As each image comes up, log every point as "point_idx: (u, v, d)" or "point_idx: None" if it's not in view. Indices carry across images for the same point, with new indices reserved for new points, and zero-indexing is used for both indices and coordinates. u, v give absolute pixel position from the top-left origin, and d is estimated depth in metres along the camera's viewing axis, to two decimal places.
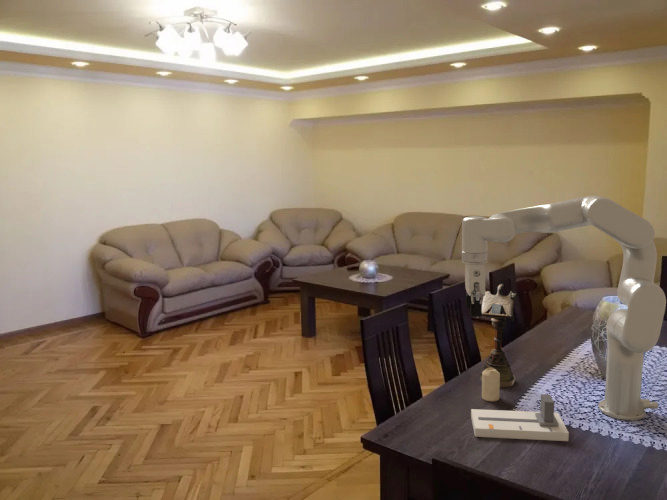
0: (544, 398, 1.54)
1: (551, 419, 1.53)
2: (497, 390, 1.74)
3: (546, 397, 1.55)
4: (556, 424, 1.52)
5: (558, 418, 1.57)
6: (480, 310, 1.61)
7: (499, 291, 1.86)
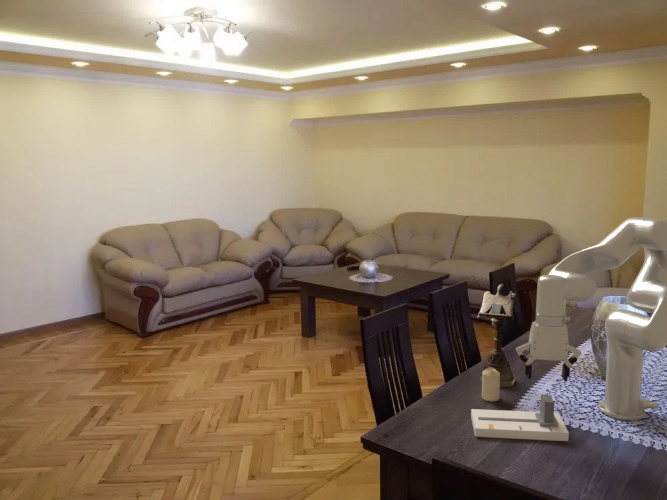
0: (544, 398, 1.54)
1: (551, 419, 1.53)
2: (497, 390, 1.74)
3: (546, 397, 1.55)
4: (556, 424, 1.52)
5: (558, 418, 1.57)
6: None
7: (499, 291, 1.86)
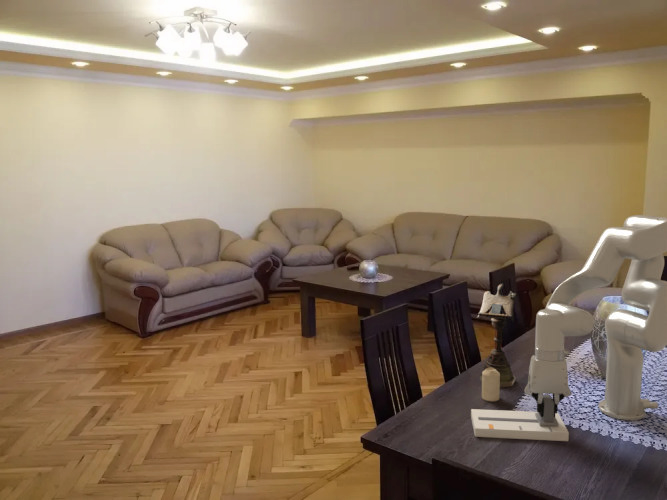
0: (544, 398, 1.54)
1: (551, 419, 1.53)
2: (497, 390, 1.74)
3: (546, 397, 1.55)
4: (556, 424, 1.52)
5: (558, 418, 1.57)
6: None
7: (499, 291, 1.86)
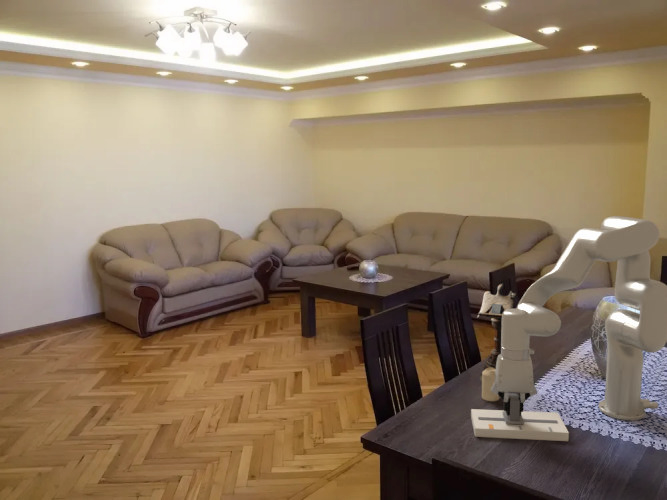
0: (510, 397, 1.56)
1: (517, 418, 1.54)
2: None
3: (512, 396, 1.56)
4: (522, 422, 1.53)
5: (558, 418, 1.57)
6: None
7: (499, 291, 1.86)
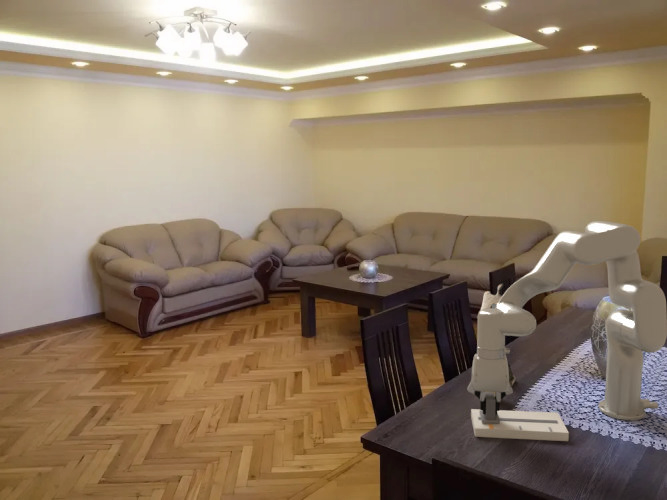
0: (486, 396, 1.57)
1: (493, 416, 1.55)
2: None
3: (488, 395, 1.57)
4: (497, 421, 1.54)
5: (558, 418, 1.57)
6: None
7: (499, 291, 1.86)
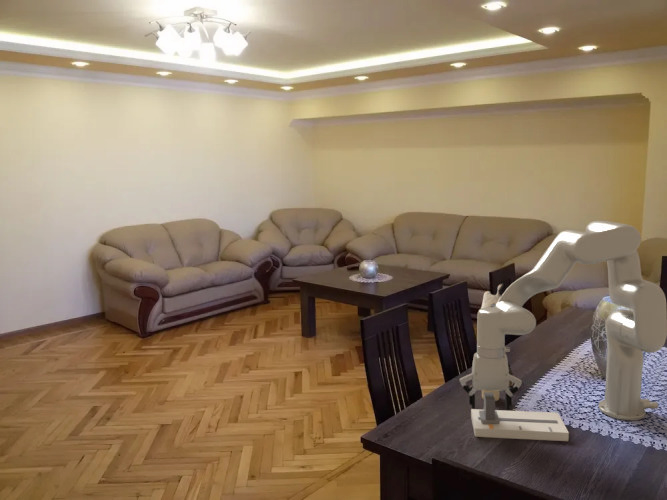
0: (486, 396, 1.57)
1: (492, 416, 1.55)
2: None
3: (488, 395, 1.57)
4: (497, 421, 1.55)
5: (558, 418, 1.57)
6: None
7: (499, 291, 1.86)
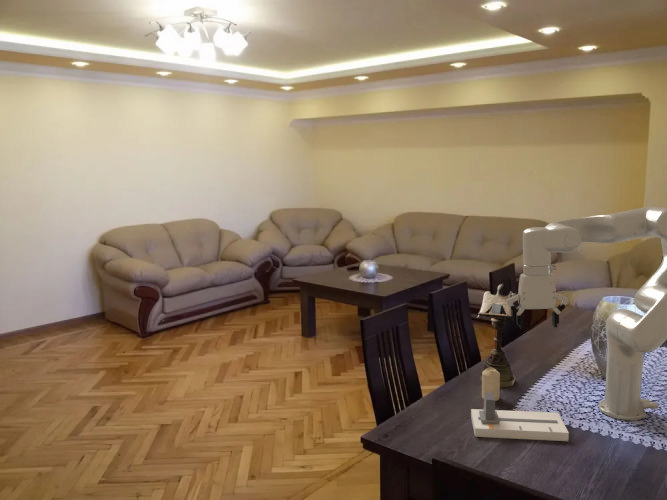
0: (486, 396, 1.57)
1: (492, 416, 1.55)
2: (497, 390, 1.74)
3: (488, 395, 1.57)
4: (497, 421, 1.55)
5: (558, 418, 1.57)
6: None
7: (499, 291, 1.86)
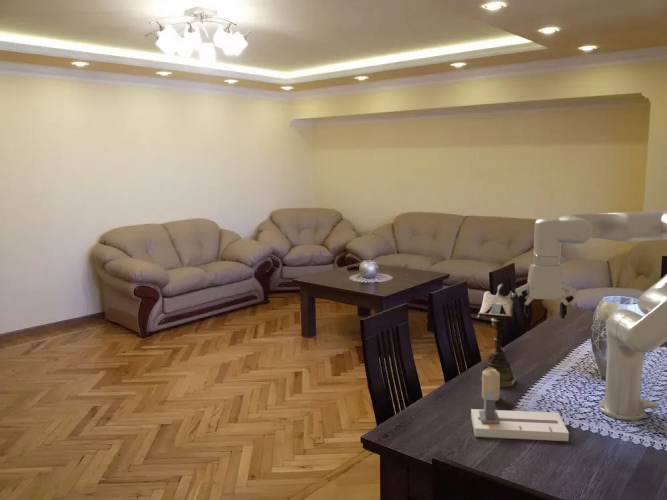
0: (486, 396, 1.57)
1: (492, 416, 1.55)
2: (497, 390, 1.74)
3: (488, 395, 1.57)
4: (497, 421, 1.55)
5: (558, 418, 1.57)
6: None
7: (499, 291, 1.86)
